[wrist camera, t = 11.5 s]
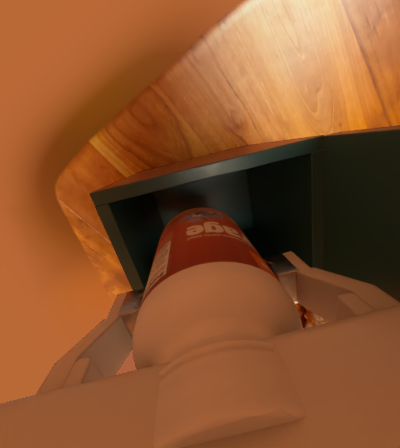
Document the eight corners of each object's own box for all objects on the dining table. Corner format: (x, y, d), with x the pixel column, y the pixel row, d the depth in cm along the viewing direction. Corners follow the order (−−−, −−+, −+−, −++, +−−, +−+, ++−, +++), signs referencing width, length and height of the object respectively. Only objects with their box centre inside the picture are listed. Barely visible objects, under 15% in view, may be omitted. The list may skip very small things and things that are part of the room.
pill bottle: (256, 226, 14) (455, 425, 4) (216, 288, 16) (279, 542, 5) (181, 189, 13) (175, 346, 2) (146, 261, 14) (51, 538, 4)
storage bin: (167, 251, 28) (153, 336, 15) (140, 171, 23) (88, 193, 11) (257, 228, 28) (323, 295, 15) (247, 145, 23) (325, 134, 10)
